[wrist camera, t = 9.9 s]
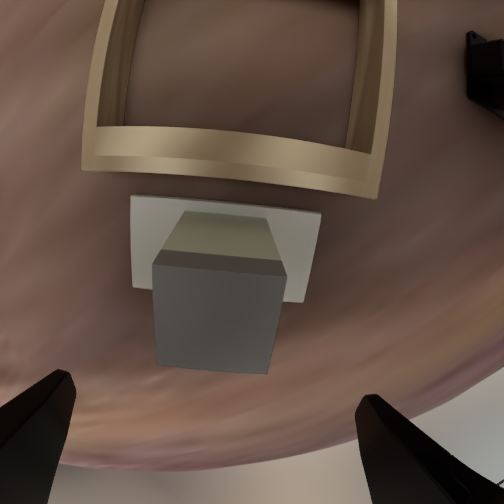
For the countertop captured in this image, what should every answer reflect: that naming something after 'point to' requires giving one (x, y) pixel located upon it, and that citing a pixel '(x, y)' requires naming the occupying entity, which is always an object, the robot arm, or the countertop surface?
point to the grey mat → (279, 219)
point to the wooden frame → (238, 143)
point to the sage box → (217, 294)
